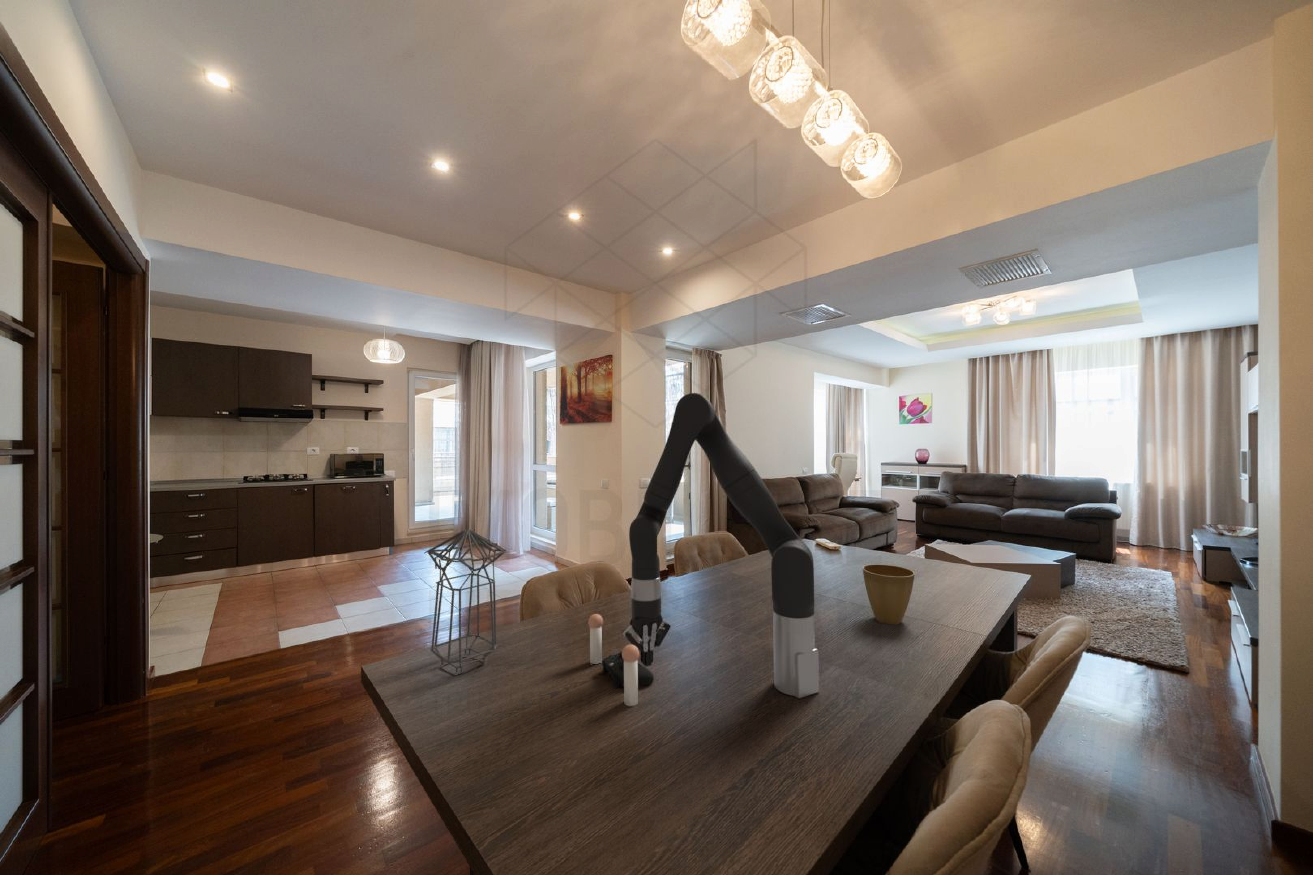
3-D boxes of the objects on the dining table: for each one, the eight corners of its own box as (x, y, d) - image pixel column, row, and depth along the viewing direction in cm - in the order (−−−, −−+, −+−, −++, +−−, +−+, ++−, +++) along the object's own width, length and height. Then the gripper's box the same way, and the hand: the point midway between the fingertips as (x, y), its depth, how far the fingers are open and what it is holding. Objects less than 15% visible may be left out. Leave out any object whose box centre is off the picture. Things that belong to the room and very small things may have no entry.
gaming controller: (658, 665, 112) (619, 666, 108) (654, 692, 111) (615, 694, 107) (634, 643, 125) (598, 643, 120) (630, 667, 124) (594, 668, 120)
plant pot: (866, 626, 146) (865, 574, 146) (860, 610, 160) (860, 562, 160) (920, 631, 141) (919, 577, 142) (910, 614, 156) (909, 565, 156)
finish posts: (642, 704, 103) (642, 646, 103) (626, 708, 101) (626, 650, 102) (600, 657, 126) (599, 610, 126) (586, 661, 124) (586, 613, 124)
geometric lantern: (475, 648, 133) (478, 523, 134) (507, 665, 123) (510, 530, 124) (418, 667, 121) (421, 530, 122) (448, 688, 111) (452, 538, 112)
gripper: (627, 603, 112) (628, 677, 112) (676, 594, 118) (677, 664, 118) (615, 594, 119) (616, 664, 119) (662, 587, 125) (663, 653, 125)
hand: (647, 664), depth 118 cm, fingers closed
